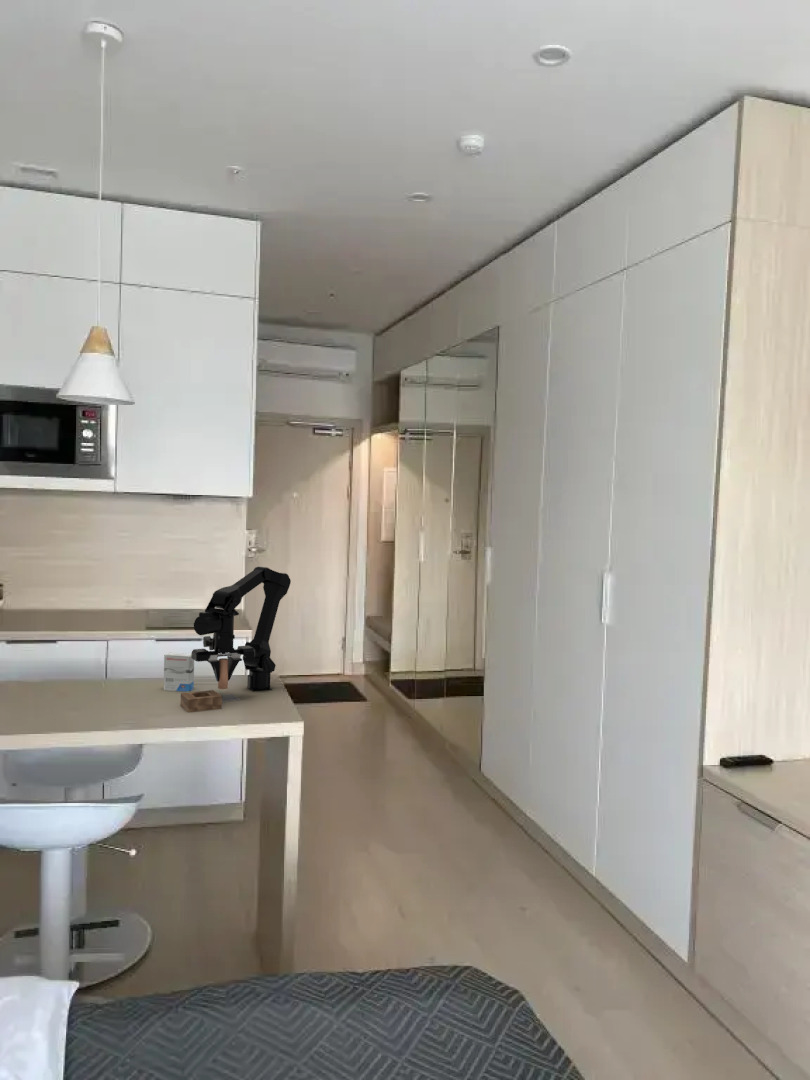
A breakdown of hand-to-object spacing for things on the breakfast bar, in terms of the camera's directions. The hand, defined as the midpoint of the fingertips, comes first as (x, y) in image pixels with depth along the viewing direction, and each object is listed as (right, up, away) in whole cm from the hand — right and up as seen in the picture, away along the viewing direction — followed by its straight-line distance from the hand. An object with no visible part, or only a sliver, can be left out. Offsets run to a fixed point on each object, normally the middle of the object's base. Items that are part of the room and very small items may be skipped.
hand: (223, 680), depth 259 cm
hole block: (-5, -7, -10) cm, 12 cm away
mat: (0, -6, +1) cm, 6 cm away
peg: (0, -2, 0) cm, 2 cm away
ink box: (-17, -5, +10) cm, 20 cm away
